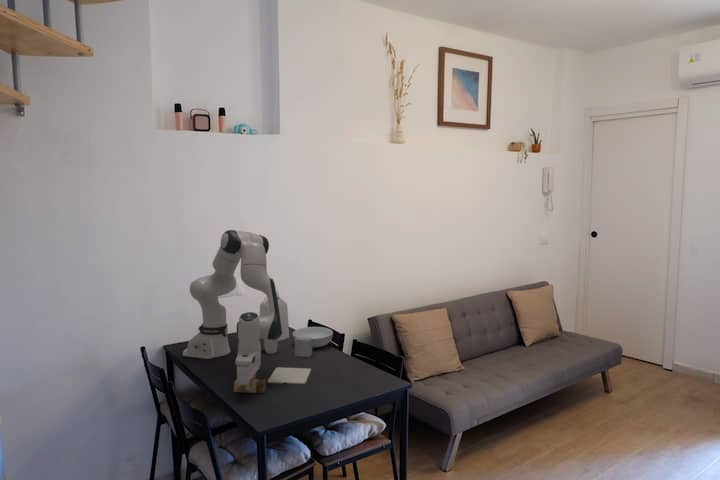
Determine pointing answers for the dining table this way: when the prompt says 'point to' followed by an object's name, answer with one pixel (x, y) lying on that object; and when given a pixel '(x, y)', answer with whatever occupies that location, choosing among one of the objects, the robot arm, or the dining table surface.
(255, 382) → the wooden block
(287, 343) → the dining table surface
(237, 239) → the robot arm
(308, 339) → the medicine box
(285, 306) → the milk
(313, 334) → the serving bowl
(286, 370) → the mat
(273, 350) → the dixie cup
